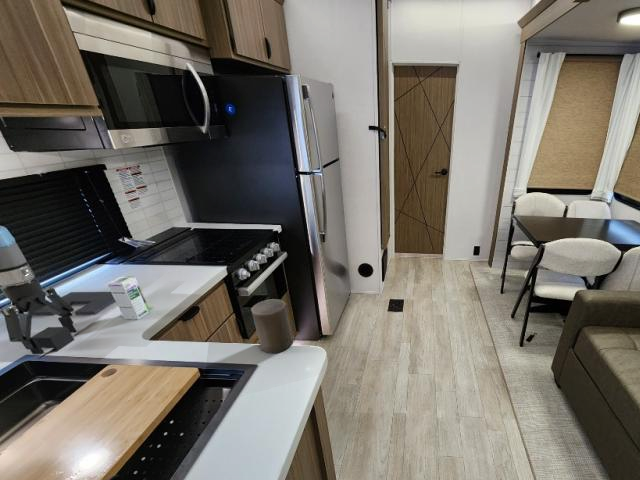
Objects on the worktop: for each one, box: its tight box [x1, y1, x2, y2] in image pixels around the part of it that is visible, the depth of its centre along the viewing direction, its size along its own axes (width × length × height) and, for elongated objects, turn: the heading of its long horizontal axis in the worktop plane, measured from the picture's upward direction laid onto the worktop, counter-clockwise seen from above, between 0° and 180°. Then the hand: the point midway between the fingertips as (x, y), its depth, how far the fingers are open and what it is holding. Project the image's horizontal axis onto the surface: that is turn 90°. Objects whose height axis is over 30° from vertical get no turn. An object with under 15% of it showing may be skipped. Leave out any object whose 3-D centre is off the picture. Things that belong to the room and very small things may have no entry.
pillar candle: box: [250, 298, 294, 354], centre depth 100 cm, size 10×10×15 cm
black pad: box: [32, 326, 75, 352], centre depth 103 cm, size 6×6×5 cm
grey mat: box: [33, 291, 116, 316], centre depth 126 cm, size 22×16×2 cm
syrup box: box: [106, 275, 151, 320], centre depth 117 cm, size 6×6×14 cm
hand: (57, 344), depth 104 cm, fingers open, 11 cm apart
